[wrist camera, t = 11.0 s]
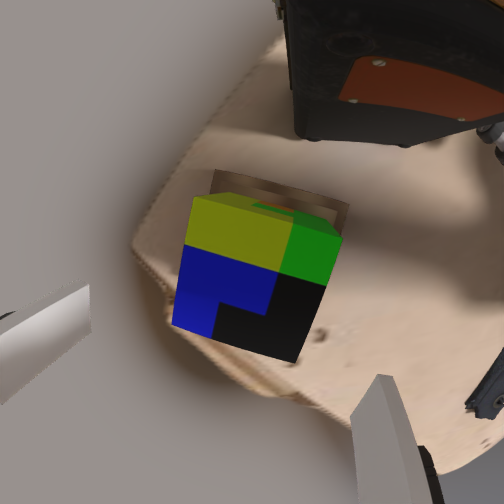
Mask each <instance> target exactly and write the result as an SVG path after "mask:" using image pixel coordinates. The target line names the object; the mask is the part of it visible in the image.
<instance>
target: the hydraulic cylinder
mask: <svg viewBox="0 0 504 504" xmlns="http://www.w3.org/2000/svg"><path fill="white" fill-rule="evenodd" d="M476 133H477V135H478V136H479V137H480V138H481V139H482V140H483V142H485V143H487V144H491V143H493V142H494V143H495V144H496V149H495V155H496V157H497V158H498V160H499V161H500V162H501V164H502V165H504V122H499V123H495V124H491V125H487V126H483V127H479V128H476Z"/></svg>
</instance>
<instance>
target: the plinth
mask: <svg viewBox="0 0 504 504" xmlns="http://www.w3.org/2000/svg"><path fill="white" fill-rule="evenodd" d="M226 192H231V193H235V194H239V195H243V196H247V197H250V198H254V199H258V200H261V201H265V202H269V203H272V204H276V205H280V206H283V207H287V208H290V209H294V210H297V211H300V212H304V213H307V214H310V215H314V216H317V217H320V218H324V219H326V220H327V221H328V222H329V223H330V224H331V225H332V227H333V228H334V229H335V230H336V231H337V232H338V233H339V235H341V231H342V228H343V225H344V221H345V218H346V214H347V211H348V207H349V204H347V203H344V202H341V201H338V200H334V199H331V198H328V197H324V196H321V195H318V194H314V193H311V192H307V191H303V190H300V189H296V188H292V187H289V186H285V185H281V184H277V183H273V182H269V181H265V180H261V179H257V178H253V177H249V176H244V175H240V174H236V173H231V172H227V171H222V170H216V169H215V172H214V176H213V181H212V185H211V190H210V194H218V193H226ZM210 194H209V195H210Z"/></svg>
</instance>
